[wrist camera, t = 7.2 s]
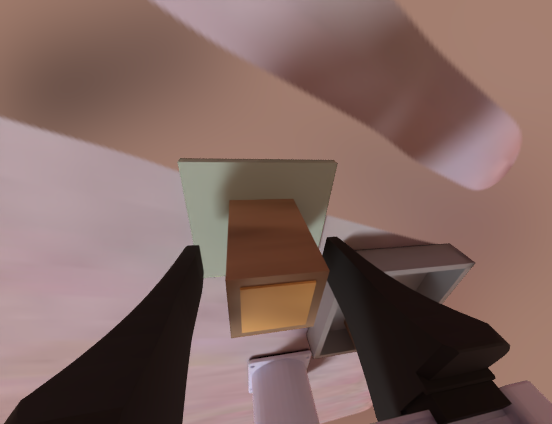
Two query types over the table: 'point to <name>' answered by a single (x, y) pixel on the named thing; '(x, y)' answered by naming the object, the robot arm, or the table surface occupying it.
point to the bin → (402, 267)
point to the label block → (271, 268)
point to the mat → (249, 196)
